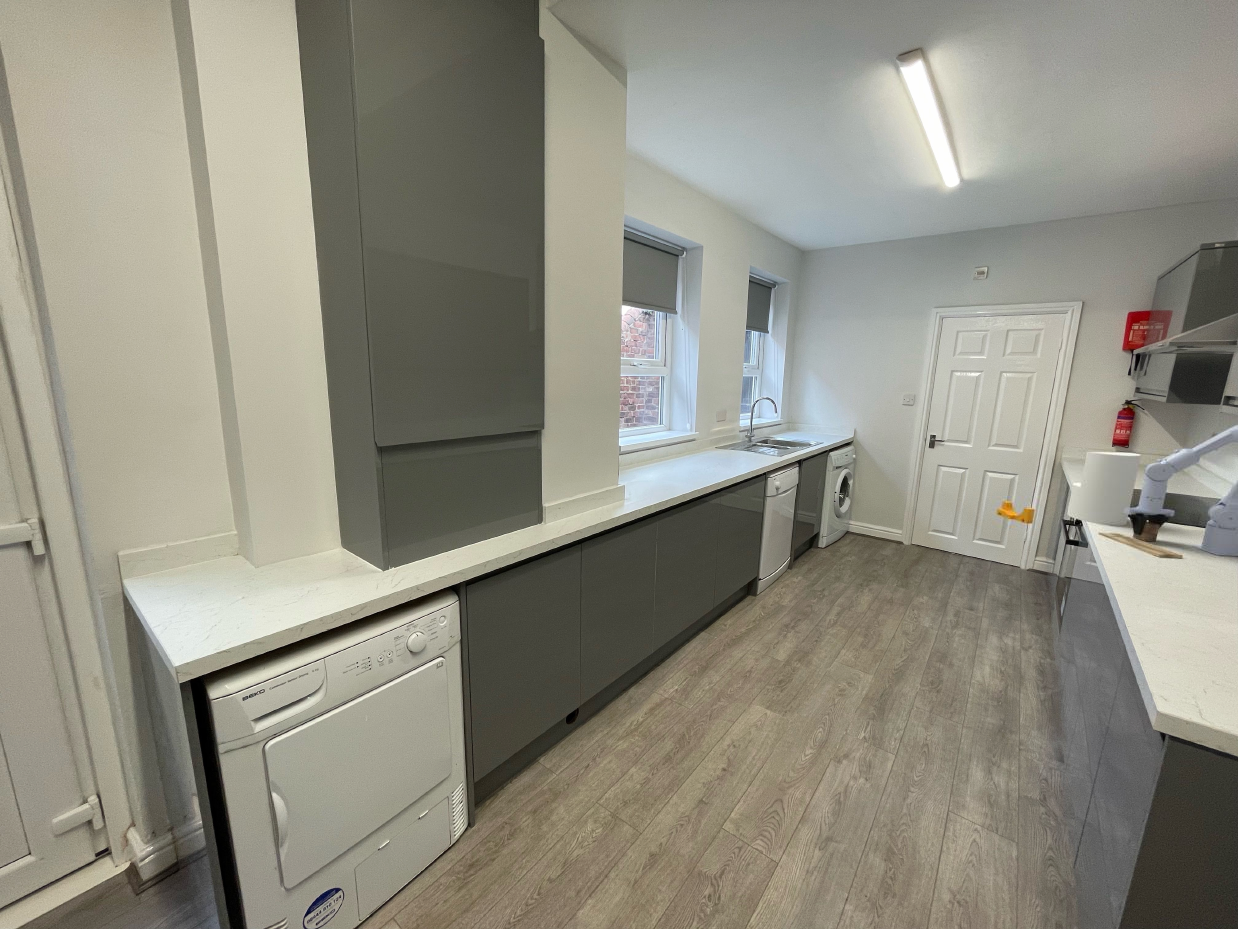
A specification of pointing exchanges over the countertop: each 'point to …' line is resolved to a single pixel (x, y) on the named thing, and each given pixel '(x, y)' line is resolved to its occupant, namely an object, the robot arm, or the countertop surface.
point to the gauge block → (1148, 532)
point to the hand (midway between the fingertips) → (1144, 534)
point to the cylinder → (1105, 488)
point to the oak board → (1142, 545)
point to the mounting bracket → (1009, 513)
